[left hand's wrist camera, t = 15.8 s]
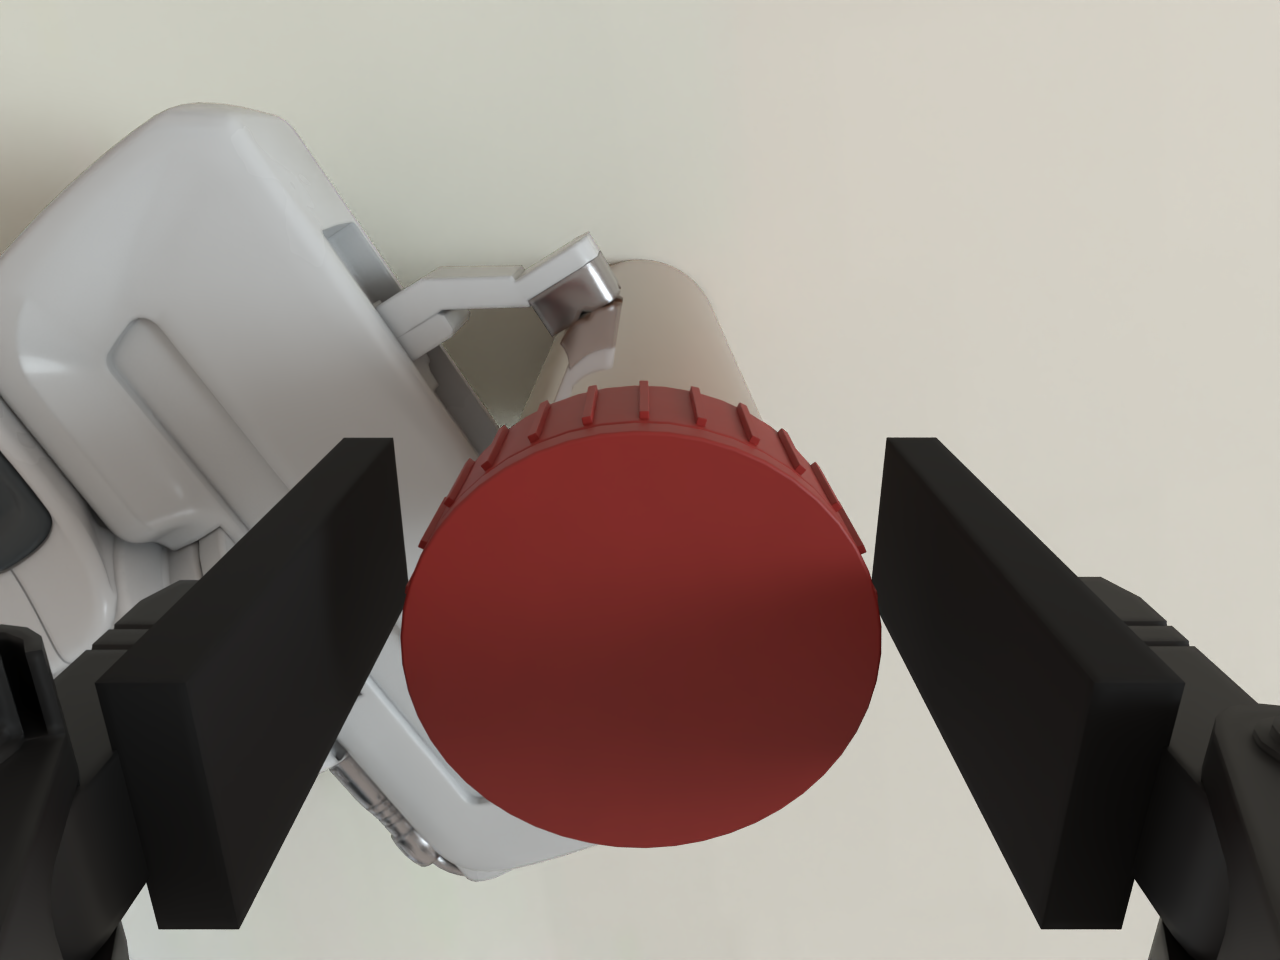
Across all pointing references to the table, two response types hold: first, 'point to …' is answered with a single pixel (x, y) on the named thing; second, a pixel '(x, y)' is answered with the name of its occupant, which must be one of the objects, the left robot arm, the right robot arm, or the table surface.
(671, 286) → the jar
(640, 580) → the lid
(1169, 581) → the table surface
